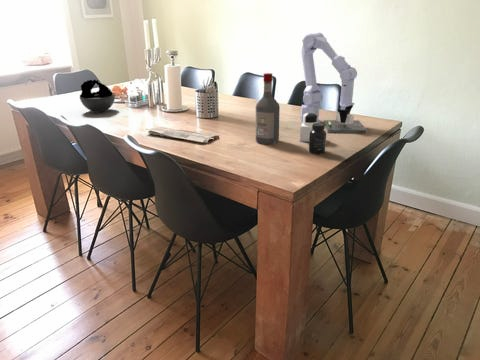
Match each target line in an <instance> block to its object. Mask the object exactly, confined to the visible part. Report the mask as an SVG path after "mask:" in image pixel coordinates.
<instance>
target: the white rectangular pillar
mask: <svg viewBox="0 0 480 360" xmlns="http://www.w3.org/2000/svg"><path fill="white" fill-rule="evenodd" d="M354 117H355V115H353V114H348V115H347V119H346V122H345V123H342V125H347V124H353V120H355V119H354ZM335 120H336V121H339V122H341V121H340V114H339V112H336V114H335Z"/></svg>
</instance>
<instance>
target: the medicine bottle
mask: <svg viewBox="0 0 480 360" xmlns="http://www.w3.org/2000/svg"><path fill="white" fill-rule="evenodd" d="M316 122H317V115H316V114H314V113H306V114H304V115H303V123H301V125H300V126H299V127H300V128H299V132H300V133H299V141H300V142H304V143H305V142H307V143H309V135H310V131H311V130H313V129H312V126H313V123H316Z"/></svg>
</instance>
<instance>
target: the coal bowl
mask: <svg viewBox="0 0 480 360" xmlns="http://www.w3.org/2000/svg"><path fill="white" fill-rule="evenodd" d="M95 85H97V86H98V90H97V91H93V92H92V90H93V88H94V87H95ZM80 89H81V93H80V94H79V99H80V100H79V101H80V102H81V104H82V105H83V106H84V108H85V109H87V110H88V111H91V112H93V111H94V112H93V113H102V112H101V111H103V112H106V111H108V110H110V109H111V107H112V106H113V104H114V103H115V98H116V94H115V92H113V91H112V90H111V89H110V88H109V87H108V86H106V85H105V84H104V83H102V82H100V80H97V79H93V80H92V79H90V80H86V81H83V83H82V84H81V85H80Z"/></svg>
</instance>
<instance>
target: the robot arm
mask: <svg viewBox="0 0 480 360" xmlns="http://www.w3.org/2000/svg"><path fill="white" fill-rule="evenodd" d="M317 49H319V50H321V51H323V53H324V54H325V55H326V57H328V58H329V59H330V60H331V65H332V66H333V68H334V69H335V70H336V71H337V72H338V74H339V78H340V80H341V87H340V98H339V99H340V100H339V105H340V107H338V108H337V111H338V112H339V114H340V121H341V123H345V122H346V119H347V115H348V114H350V113H351V111H352V109H353V107H354V105H355V103H354V102H353V95H354V87H355V79H356V78H357V76H358V71H357V69H356V68H355V67H353V66H351V64H349V63H348V62H347V61H346V60H345V59H346V58H345V57H344V56H342V55H338V54H337V53H336V51H335V49H334V48H333V46H331V44H330V43H329V41H328V39H327V38H326V37H325V35H324V34H323V33H322V32H316V33H306V34H305V35H304V37H303V39H302V48H301V58H302V66H303V73H304V80H305V86H306V87H305V88H304V90H303V97H302V102H303V103H304V104H301V108H300V109H301V110H300V123H301V124H303V115H304V114H306V113H314V114H316V115H317V122H316V123H321V122H320V118H319V116H320V104H321V102H323V101H322V100H323V98H324V96H323V93H322V92H321V87H320V86H318V84H317V76H316V69H315V61H314V54H315V52H316V50H317ZM338 112H337V113H338ZM350 115H351V114H350Z"/></svg>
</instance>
